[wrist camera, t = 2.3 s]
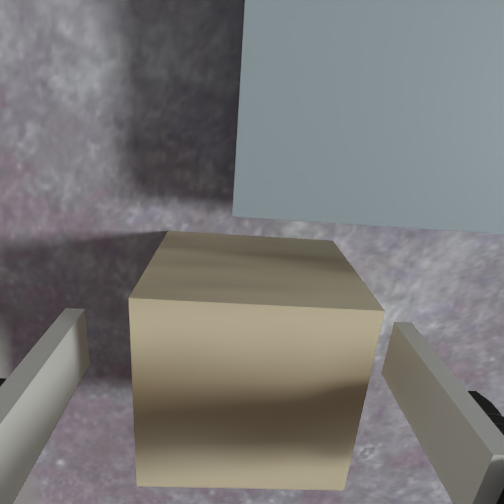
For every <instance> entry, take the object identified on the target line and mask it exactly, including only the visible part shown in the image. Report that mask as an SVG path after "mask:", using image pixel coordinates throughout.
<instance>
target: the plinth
mask: <svg viewBox="0 0 504 504" xmlns="http://www.w3.org/2000/svg"><path fill="white" fill-rule="evenodd" d="M232 217H248V218H263V219H279V220H294V221H310V222H326V223H341V224H357V225H372V226H388V227H403V228H419V229H435V230H450V231H466V232H481V233H497V234H504V0H245V6H244V23H243V40H242V57H241V74H240V91H239V108H238V125H237V142H236V159H235V176H234V192H233V211H232Z"/></svg>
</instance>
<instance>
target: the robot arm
mask: <svg viewBox="0 0 504 504" xmlns="http://www.w3.org/2000/svg"><path fill="white" fill-rule="evenodd" d="M89 365H90V356H89V346H88V336H87V326H86V316H85V309H76V308H65V309H64V311H63V312H62V313H61V314H60V315H59V317H58V318H57V319H56V320H55V321H54V323H53V324H52V325H51V326H50V327H49V329H48V330H47V331H46V332H45V333H44V335H43V336H42V337H41V338H40V339H39V341H38V342H37V343H36V344H35V346H34V347H33V348H32V349H31V350H30V352H29V353H28V354H27V355H26V356H25V358H24V359H23V360H22V361H21V362H20V364H19V365H18V366H17V367H16V368H15V370H14V371H13V372H12V373H11V374H10V376H9V377H8V378H7V379H4V378H0V504H13V502H14V500H15V499H16V497H17V495H18V493H19V491H20V490H21V488H22V486H23V484H24V482H25V481H26V479H27V477H28V475H29V473H30V472H31V470H32V468H33V466H34V464H35V463H36V461H37V459H38V457H39V455H40V454H41V452H42V450H43V448H44V446H45V445H46V443H47V441H48V439H49V437H50V436H51V434H52V432H53V430H54V428H55V427H56V425H57V423H58V421H59V419H60V418H61V416H62V414H63V412H64V410H65V409H66V407H67V405H68V403H69V401H70V400H71V398H72V396H73V394H74V392H75V391H76V389H77V387H78V385H79V383H80V381H81V380H82V378H83V376H84V374H85V372H86V371H87V369H88V367H89ZM382 375H383V377H384V379H385V380H386V382H387V384H388V386H389V388H390V390H391V391H392V393H393V395H394V397H395V399H396V400H397V402H398V404H399V406H400V408H401V409H402V411H403V413H404V415H405V417H406V418H407V420H408V422H409V424H410V426H411V427H412V429H413V431H414V433H415V435H416V437H417V438H418V440H419V442H420V444H421V446H422V447H423V449H424V451H425V453H426V455H427V456H428V458H429V460H430V462H431V464H432V465H433V467H434V469H435V471H436V473H437V474H438V476H439V478H440V480H441V482H442V484H443V485H444V487H445V489H446V491H447V493H448V494H449V496H450V498H451V500H452V502H453V503H454V504H504V417H503V416H501V413H500V412H499V411H498V410H497V409H496V408H495V406H494V405H493V404H492V403H491V402H490V401H489V400H487V399H486V398H485V397H483V396H482V395H480V394H479V393H478V392H476V391H467V390H466V389H465V388H464V386H463V385H462V384H461V383H460V382H459V380H458V379H457V378H456V377H455V375H454V374H453V373H452V372H451V371H450V369H449V368H448V367H447V366H446V364H445V363H444V362H443V361H442V360H441V358H440V357H439V356H438V355H437V353H436V352H435V351H434V350H433V349H432V347H431V346H430V345H429V344H428V342H427V341H426V340H425V339H424V338H423V336H422V335H421V334H420V333H419V331H418V330H417V329H416V328H415V327H414V325H413V324H412V323H407V322H394V325H393V329H392V333H391V337H390V341H389V345H388V349H387V353H386V357H385V361H384V365H383V369H382Z"/></svg>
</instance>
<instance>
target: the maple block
mask: <svg viewBox="0 0 504 504" xmlns="http://www.w3.org/2000/svg"><path fill="white" fill-rule="evenodd" d="M128 299H129V321H130V343H131V366H132V388H133V410H134V433H135V455H136V477H137V486H156V487H204V488H253V489H302V490H344V488H345V484H346V479H347V475H348V470H349V466H350V462H351V457H352V453H353V449H354V444H355V440H356V435H357V431H358V427H359V422H360V418H361V413H362V409H363V405H364V400H365V396H366V391H367V387H368V383H369V378H370V374H371V369H372V365H373V361H374V356H375V352H376V347H377V343H378V339H379V334H380V330H381V326H382V321H383V317H384V312H385V311H384V309H383V308H382V307H381V305H380V304H379V302H378V301H377V300H376V298H375V297H374V296H373V294H372V293H371V292H370V290H369V289H368V288H367V286H366V285H365V284H364V282H363V281H362V280H361V278H360V277H359V275H358V274H357V273H356V271H355V270H354V269H353V267H352V266H351V265H350V263H349V262H348V261H347V259H346V258H345V257H344V255H343V254H342V252H341V251H340V250H339V248H338V247H337V246H336V244H335V243H334V242H333V241H328V240H311V239H295V238H279V237H262V236H246V235H230V234H213V233H197V232H181V231H168V232H167V234H166V235H165V237H164V239H163V240H162V242H161V244H160V245H159V247H158V249H157V251H156V252H155V254H154V256H153V257H152V259H151V261H150V262H149V264H148V266H147V268H146V269H145V271H144V273H143V274H142V276H141V278H140V279H139V281H138V283H137V285H136V286H135V288H134V290H133V291H132V293H131V295H130V296H129V298H128Z"/></svg>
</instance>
